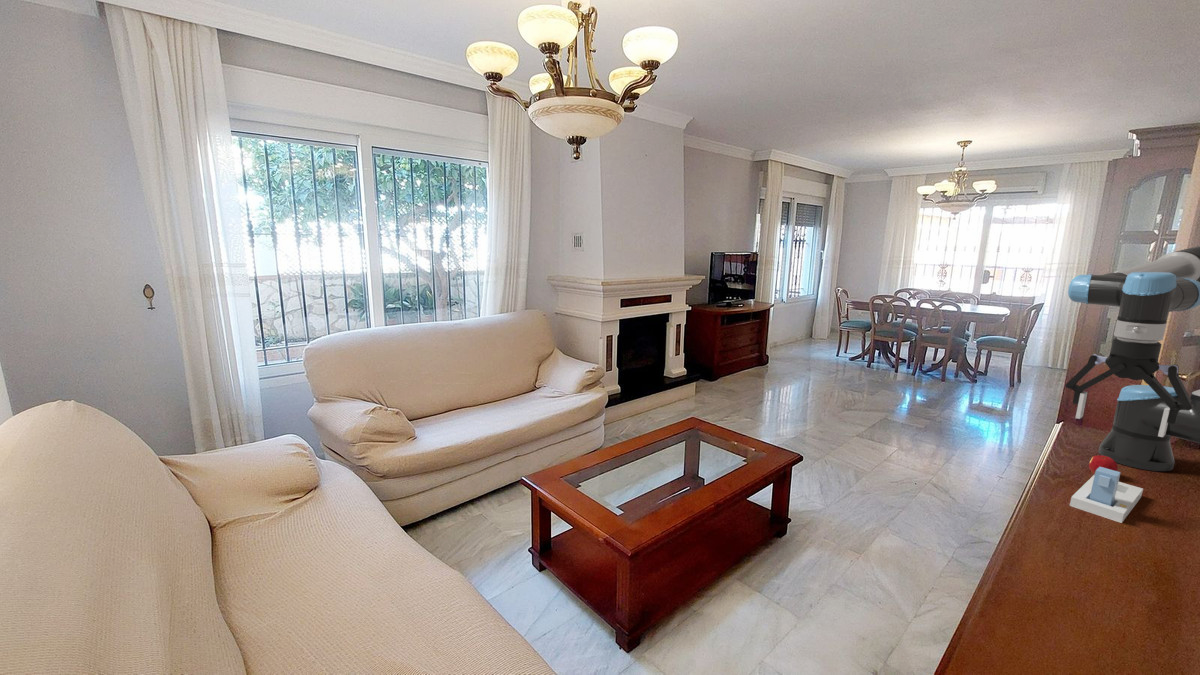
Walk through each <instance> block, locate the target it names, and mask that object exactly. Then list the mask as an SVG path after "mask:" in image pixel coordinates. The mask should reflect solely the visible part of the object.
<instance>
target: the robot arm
mask: <svg viewBox="0 0 1200 675" xmlns="http://www.w3.org/2000/svg"><path fill="white" fill-rule="evenodd" d="M1067 295H1068V298H1069V299H1070V300H1071V301H1072V302H1075V303H1080V304H1085V305H1097V306H1098V305H1099V306H1108V307H1109V306H1110V307H1118V308H1119V309H1118V310H1119V311H1118V315H1117V318H1116V323H1115V328H1114V332H1113V335H1114V337H1115V338H1114V339H1112V342H1111V347H1110V352H1109V356H1107V357H1106V356H1102V355H1099V354H1098V353H1094V354H1092V355H1090V357H1089V358H1088V361H1087V363H1085V365H1084V366H1083V367H1082V368H1081V369H1080V370H1079V371H1078V372H1077V373H1076V374H1075V375H1074V376H1073V377H1071V379H1070V380H1069V381H1067V383H1066V384H1065V388H1066V389H1070V390H1072V391H1073V392H1074V393H1073V398H1072V403H1073V405H1077V407H1076V414H1075V419H1079V420H1081V419H1082V418H1083V416H1084V413H1085V407H1086V403H1087V396H1088V393H1089V392H1087V391H1085V390H1086V389H1089V388H1090V387H1093V386H1094V385H1096V384H1099V382H1102V381H1104V380H1105V379H1108V378H1109V377H1111V376H1113V375H1114V376H1116V377H1118V379H1119V378H1120V379H1130V380H1133V381H1142V380H1143V381H1144V382H1145V383H1146V384H1131V385H1126V386H1124V387H1122V388H1121V389H1120V392H1119V396H1118V397H1117V399H1116V400H1117V401H1116V402H1117V403H1116V408H1115V411H1114V412H1115V413H1114V416H1113V417H1114V418H1113V422H1112V426H1111V430H1110V431H1109V433H1108V434H1107V435H1106V437H1105V438H1104V439H1103V440H1102V442H1101V443H1100V444H1099V447H1098V453H1099V454H1098V455H1102V456H1107V457H1110V458H1112V459H1113V460H1114V461H1115V462H1116V463H1117V464H1121V465H1124V466H1127V467H1132V468H1134V469H1140V470H1146V471H1152V472H1153V471H1154V472H1170V471H1172V470H1174V467H1175V463H1176V461H1175V458H1174V453H1173V450H1172V446H1171V439H1172V437H1174V438H1179V439H1182V440H1186V441H1189V442H1194V443H1198V444H1200V389H1197V390H1194V391H1192V392H1191V394H1189V393H1188V390H1187V389H1186V387H1185V385H1184V383H1183V381H1182V379H1181V377H1180V375H1179V372H1180V371H1179V370H1180V368H1179V365H1178V364H1171V365H1168V364H1160V362H1159V358H1160V353H1161V350H1162V344H1161V341H1163V340H1164V335H1165V331H1166V328H1167V322H1168V318H1169V314H1170V313H1171V312H1184V311H1188V310H1190V309H1194V308H1196V307H1198V306H1200V245H1199V246H1194V247H1189V248H1184V249H1179V250H1176V251H1172V252H1168V253H1165V254H1164V255H1163V254H1162V255H1161V256H1160V257H1158V258H1157V259H1156V260H1153V261H1150V262H1146V263H1142V264H1139V265H1138V264H1137V265H1135V266H1130V267H1127V268H1124V269H1119V270H1116V271H1113V272H1109V273H1105V274H1093V273H1092V274H1090V273H1089V274H1079V275H1077V276H1075V277H1074V278H1072V279H1071V281H1070V282H1069V286H1068V290H1067ZM1102 363H1105V364H1106V366H1107V367H1108V370H1106V371H1104V372H1103V373H1100V374H1099V375H1097V376H1095V377H1093V378H1091V379H1089V380H1088V381H1086V382H1084V383H1082V384H1081V385H1079V384H1078V382H1080V381H1081V380H1082V379H1083V378H1084V377H1085V376H1086V375H1087V374H1089V372H1090V371H1091V370H1092V369H1094V368H1095V367H1096V365H1100V364H1102ZM1158 371H1162V373H1163V374H1164V375H1165V376H1166V375H1167V378H1168V380H1169V383H1170V385H1171V386H1172V387H1171V386H1164V385H1162V384H1161V382H1160V381H1159V380H1158V379H1157V377H1156V376H1155V374H1154V373H1155V372H1158Z"/></svg>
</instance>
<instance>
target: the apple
mask: <svg viewBox="0 0 1200 675" xmlns="http://www.w3.org/2000/svg"><path fill="white" fill-rule="evenodd" d="M1118 466H1119V465H1118V463H1117V462H1115V461H1114V460H1113V459H1112V458H1110V457H1107V456H1102V455H1100V454H1098V455H1094V456H1091V459H1090V460H1089V463H1088V469H1089V470H1090V472H1091V474H1093V475H1095V471H1096V470H1097V469H1098V468H1099V467H1103V468H1107V469H1111V470H1114V471H1118V470H1119V469H1118Z"/></svg>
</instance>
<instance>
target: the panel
mask: <svg viewBox="0 0 1200 675" xmlns="http://www.w3.org/2000/svg"><path fill="white" fill-rule="evenodd" d="M1094 476H1095V474H1093V475H1092V476H1091V477H1090V479H1088V480H1087V481H1086V482H1085V483H1084V484H1083V485H1082V486H1081V487H1080V488H1079V489H1077V491H1076V492H1075V493H1074V494H1073V495H1071V497H1070V502H1069V507H1072V508H1076V509H1078V510H1081V511H1084V512H1087V513H1090V514H1093V515H1096V516H1100V517H1102V518H1106V519H1108V520H1112V521H1114V522H1116V523H1117V522H1118V523H1121V524H1122V523H1123V522H1124V521H1125V519H1127V517H1128V515H1129V514H1130V513H1131V512H1132V511H1133V509H1134V507H1135V506H1136V505H1137V503H1139V501H1140V499H1141V498H1142V496H1143V495H1142V494H1143V491H1144V487H1143V488H1142V487H1139V486H1136V485H1132V484H1128V483H1125V482H1121V481H1119V482H1118V486H1117V490H1116V495H1115V499H1114V504H1113V507H1112V506H1109V505H1106V504H1102V503H1099V502H1096V501H1093V500H1090V494H1091V490H1092V485H1093V480H1094Z"/></svg>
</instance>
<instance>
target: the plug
mask: <svg viewBox="0 0 1200 675" xmlns="http://www.w3.org/2000/svg"><path fill="white" fill-rule="evenodd" d="M1094 475H1095V476H1094V480H1093V485H1092V490H1091V494H1090V500H1093V501H1096V502H1099V503H1102V504H1106V505H1109V506H1112V507H1113V504H1114V499H1115V495H1116V490H1117V486H1118V482H1120V476H1121V471H1118V470H1117V471H1114V470H1111V469H1107V468H1103V467H1099V468H1098V469H1097V470H1096V471H1095V474H1094Z"/></svg>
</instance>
